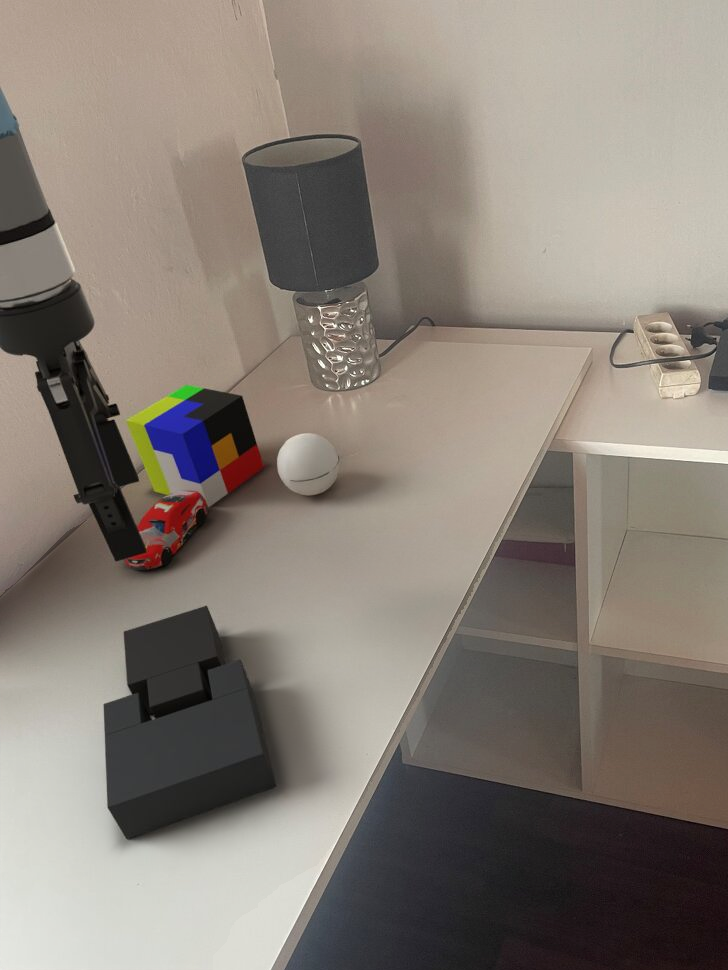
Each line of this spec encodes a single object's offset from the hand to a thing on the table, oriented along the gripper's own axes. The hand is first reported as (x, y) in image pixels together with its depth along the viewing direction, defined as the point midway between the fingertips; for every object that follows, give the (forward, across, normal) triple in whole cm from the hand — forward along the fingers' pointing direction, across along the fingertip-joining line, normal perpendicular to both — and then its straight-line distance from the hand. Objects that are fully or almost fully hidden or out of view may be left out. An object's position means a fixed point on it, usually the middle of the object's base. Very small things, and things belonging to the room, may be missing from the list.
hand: (128, 517), depth 81 cm
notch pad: (+13, +20, 0) cm, 24 cm away
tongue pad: (+13, +11, 0) cm, 17 cm away
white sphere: (+13, -17, +20) cm, 29 cm away
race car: (+13, -16, +1) cm, 20 cm away
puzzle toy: (+13, -28, +7) cm, 31 cm away
